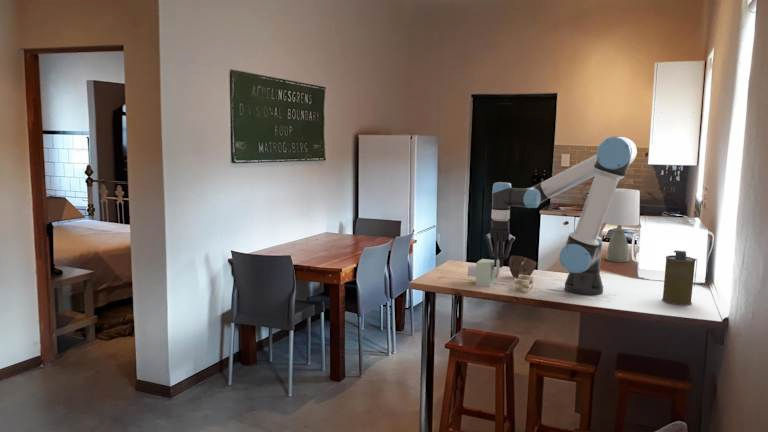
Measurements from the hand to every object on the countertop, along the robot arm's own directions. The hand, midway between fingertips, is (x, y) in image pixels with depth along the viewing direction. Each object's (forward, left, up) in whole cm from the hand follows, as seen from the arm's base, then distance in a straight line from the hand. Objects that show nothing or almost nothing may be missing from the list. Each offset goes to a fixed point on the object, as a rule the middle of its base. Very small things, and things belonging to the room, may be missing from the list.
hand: (498, 274), depth 251 cm
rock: (-6, -19, -5) cm, 20 cm away
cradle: (-11, 0, -5) cm, 12 cm away
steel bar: (+7, 0, -2) cm, 7 cm away
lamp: (-43, -85, -5) cm, 95 cm away
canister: (-69, -9, -5) cm, 70 cm away
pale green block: (+5, 0, -5) cm, 7 cm away
